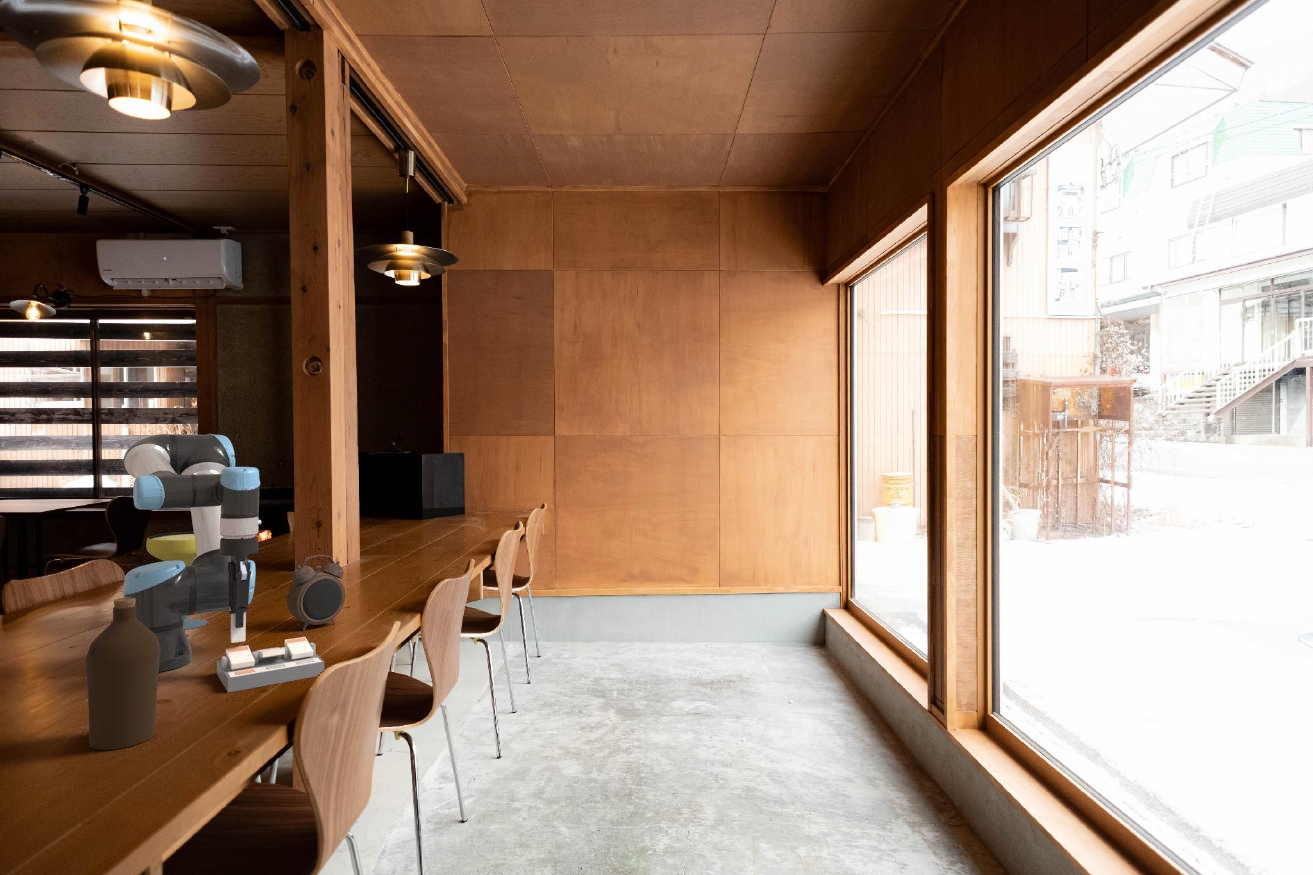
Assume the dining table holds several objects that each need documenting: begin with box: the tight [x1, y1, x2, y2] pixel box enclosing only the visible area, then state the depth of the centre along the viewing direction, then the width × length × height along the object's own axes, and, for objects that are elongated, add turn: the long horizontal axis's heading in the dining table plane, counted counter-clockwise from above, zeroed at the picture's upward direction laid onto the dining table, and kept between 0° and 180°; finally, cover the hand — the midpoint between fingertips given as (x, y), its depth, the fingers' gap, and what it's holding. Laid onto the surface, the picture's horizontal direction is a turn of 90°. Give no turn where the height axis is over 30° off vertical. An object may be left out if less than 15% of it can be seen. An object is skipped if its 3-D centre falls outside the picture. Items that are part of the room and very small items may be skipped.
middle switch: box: [255, 647, 285, 657], centre depth 165 cm, size 4×8×1 cm, turn 39°
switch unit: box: [216, 642, 325, 693], centre depth 164 cm, size 19×14×5 cm
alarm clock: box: [286, 554, 346, 631], centre depth 204 cm, size 15×7×20 cm, turn 143°
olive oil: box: [85, 596, 160, 751], centre depth 129 cm, size 11×11×25 cm
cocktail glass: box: [145, 531, 208, 631], centre depth 202 cm, size 18×18×25 cm
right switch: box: [284, 636, 313, 659], centre depth 169 cm, size 4×8×1 cm, turn 39°
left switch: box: [225, 645, 255, 670], centre depth 161 cm, size 4×8×1 cm, turn 39°
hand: (237, 641), depth 163 cm, fingers closed
